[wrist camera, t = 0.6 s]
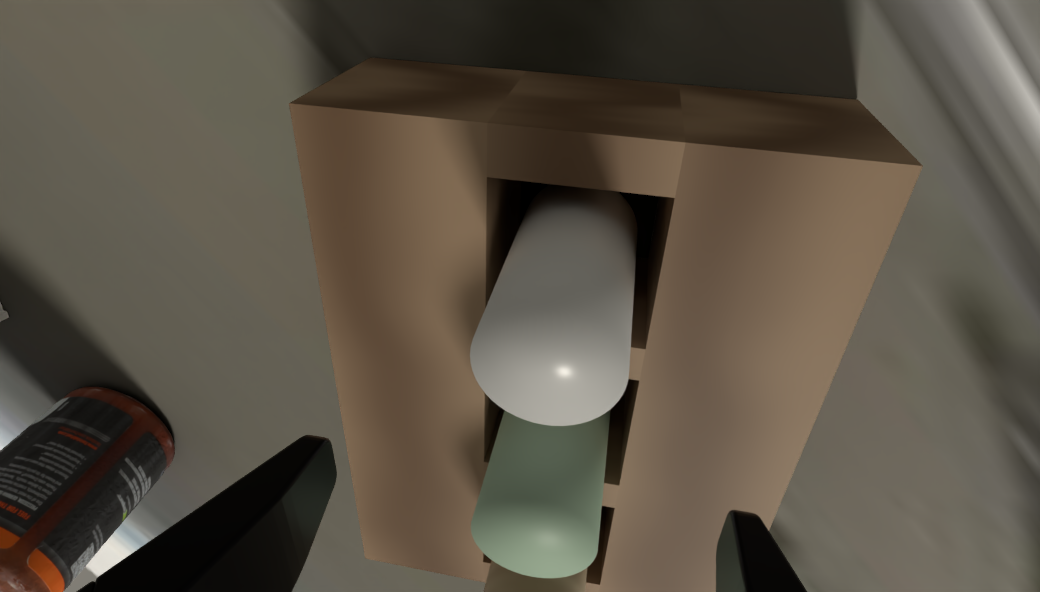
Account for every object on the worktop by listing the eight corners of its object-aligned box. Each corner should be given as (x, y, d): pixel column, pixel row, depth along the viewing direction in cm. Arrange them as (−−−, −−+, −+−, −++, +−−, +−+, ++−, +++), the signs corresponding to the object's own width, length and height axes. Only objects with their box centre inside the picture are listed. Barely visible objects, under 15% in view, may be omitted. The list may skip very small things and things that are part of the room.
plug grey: (645, 184, 16) (640, 312, 11) (629, 287, 18) (618, 437, 13) (525, 171, 17) (469, 289, 12) (520, 273, 18) (470, 412, 13)
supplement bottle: (47, 378, 30) (-225, 593, 21) (148, 380, 29) (-95, 611, 20) (106, 464, 33) (-108, 684, 24) (199, 469, 32) (11, 705, 23)
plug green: (618, 350, 19) (605, 509, 14) (606, 424, 21) (590, 588, 16) (517, 335, 20) (470, 484, 15) (514, 409, 21) (471, 564, 16)
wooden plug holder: (857, 99, 17) (923, 166, 13) (715, 517, 27) (726, 631, 23) (370, 57, 19) (289, 103, 14) (407, 462, 29) (365, 558, 24)
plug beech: (599, 468, 22) (582, 633, 17) (590, 524, 24) (572, 688, 19) (512, 453, 23) (471, 610, 18) (509, 509, 24) (472, 665, 19)
